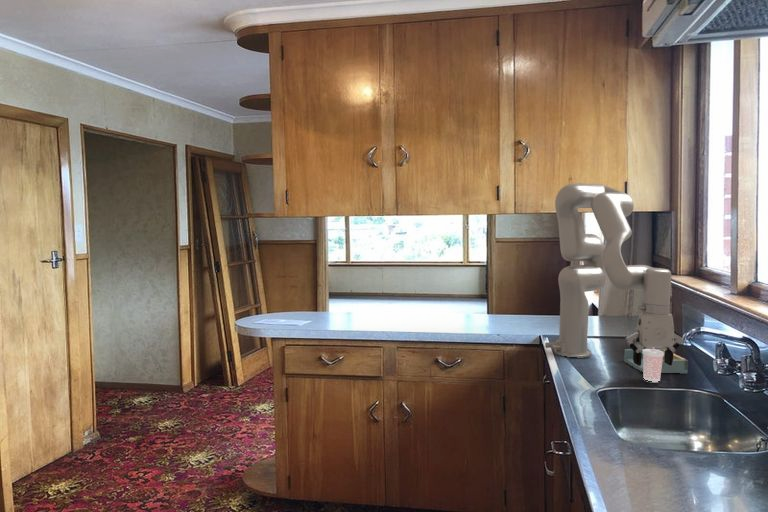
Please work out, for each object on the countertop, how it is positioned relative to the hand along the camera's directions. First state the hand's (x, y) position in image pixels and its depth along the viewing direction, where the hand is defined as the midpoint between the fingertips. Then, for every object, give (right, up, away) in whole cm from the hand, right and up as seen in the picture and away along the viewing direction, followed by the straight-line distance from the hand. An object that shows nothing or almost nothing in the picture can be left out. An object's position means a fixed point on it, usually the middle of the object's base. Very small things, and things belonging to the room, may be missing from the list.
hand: (652, 364), depth 179 cm
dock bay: (+7, -4, +14) cm, 16 cm away
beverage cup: (0, -5, +1) cm, 5 cm away
